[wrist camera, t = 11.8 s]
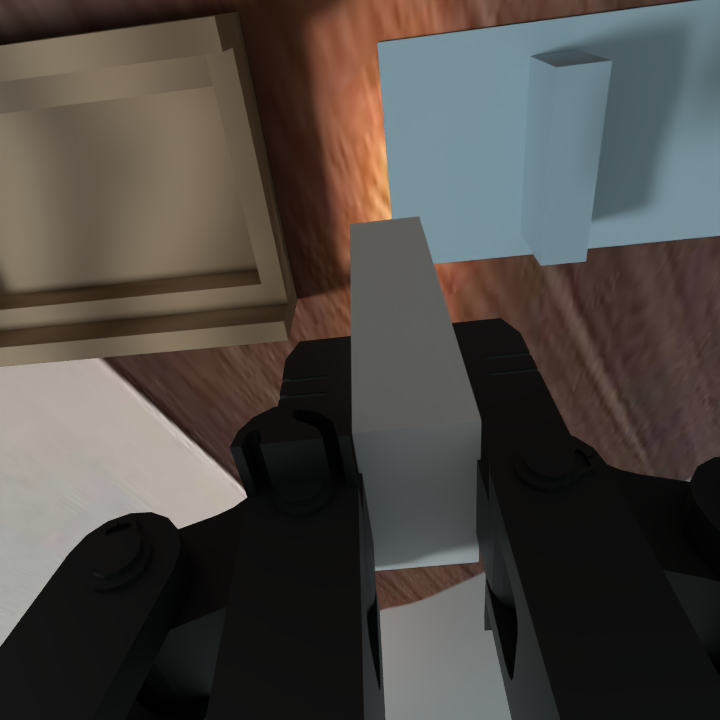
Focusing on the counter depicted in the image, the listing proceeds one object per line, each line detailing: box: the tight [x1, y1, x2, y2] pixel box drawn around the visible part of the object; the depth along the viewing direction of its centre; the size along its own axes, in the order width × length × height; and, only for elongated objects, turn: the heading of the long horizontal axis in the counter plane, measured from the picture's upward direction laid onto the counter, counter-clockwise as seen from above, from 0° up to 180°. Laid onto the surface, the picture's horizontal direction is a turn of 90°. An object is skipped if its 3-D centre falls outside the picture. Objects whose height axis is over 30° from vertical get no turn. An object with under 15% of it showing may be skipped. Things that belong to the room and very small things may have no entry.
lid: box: [377, 0, 720, 266], centre depth 19 cm, size 14×8×4 cm, turn 97°
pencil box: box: [0, 12, 297, 367], centre depth 20 cm, size 16×11×3 cm
